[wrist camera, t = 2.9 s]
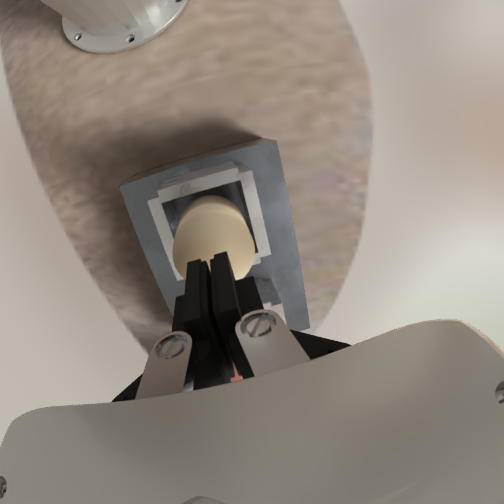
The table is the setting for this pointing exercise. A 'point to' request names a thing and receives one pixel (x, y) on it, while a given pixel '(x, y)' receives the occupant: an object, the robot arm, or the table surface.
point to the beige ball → (213, 235)
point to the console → (249, 203)
